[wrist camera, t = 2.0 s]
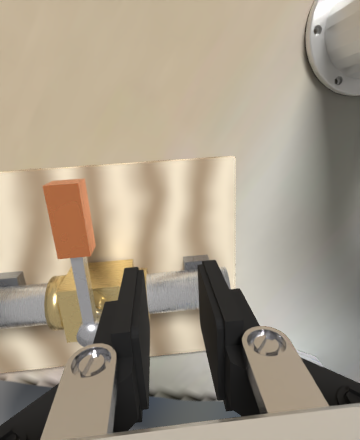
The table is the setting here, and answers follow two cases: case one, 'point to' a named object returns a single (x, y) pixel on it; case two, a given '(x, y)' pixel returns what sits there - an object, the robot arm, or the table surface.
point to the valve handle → (74, 244)
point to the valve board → (119, 240)
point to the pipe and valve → (94, 294)
